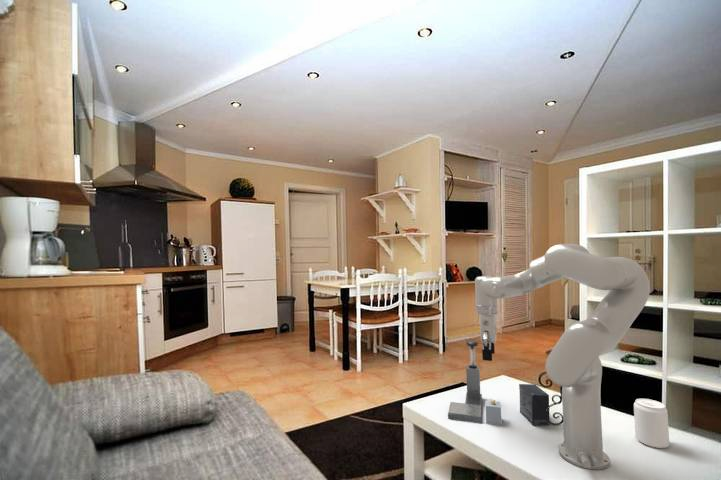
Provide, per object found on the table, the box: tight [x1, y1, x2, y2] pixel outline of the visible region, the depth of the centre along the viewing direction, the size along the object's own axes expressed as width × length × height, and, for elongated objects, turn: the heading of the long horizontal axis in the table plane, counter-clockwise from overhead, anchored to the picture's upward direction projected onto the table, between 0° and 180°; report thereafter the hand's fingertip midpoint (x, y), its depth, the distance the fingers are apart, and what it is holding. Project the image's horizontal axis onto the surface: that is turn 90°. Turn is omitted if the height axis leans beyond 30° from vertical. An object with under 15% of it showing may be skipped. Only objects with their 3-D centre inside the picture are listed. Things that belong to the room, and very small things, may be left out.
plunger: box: [465, 340, 479, 368], centre depth 143 cm, size 5×5×13 cm
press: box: [447, 364, 483, 424], centre depth 136 cm, size 22×12×13 cm, turn 161°
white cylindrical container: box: [633, 398, 670, 449], centre depth 109 cm, size 8×8×12 cm
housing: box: [484, 399, 502, 426], centre depth 125 cm, size 5×5×7 cm
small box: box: [518, 383, 551, 426], centre depth 126 cm, size 11×6×10 cm, turn 179°
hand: (488, 356), depth 129 cm, fingers open, 9 cm apart
